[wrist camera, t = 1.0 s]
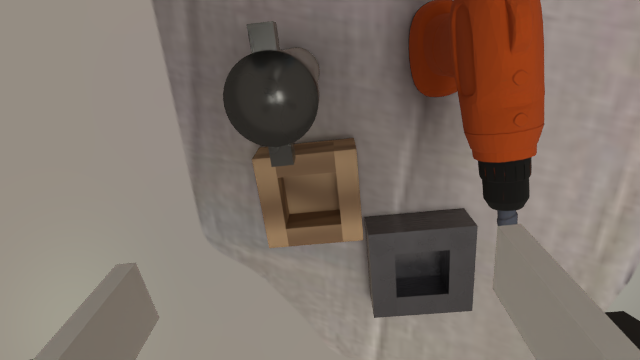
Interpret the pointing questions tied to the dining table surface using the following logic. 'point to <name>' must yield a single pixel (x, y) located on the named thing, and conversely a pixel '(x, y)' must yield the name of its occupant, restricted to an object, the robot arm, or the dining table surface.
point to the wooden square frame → (311, 194)
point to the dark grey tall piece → (272, 93)
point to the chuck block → (421, 262)
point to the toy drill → (487, 85)
